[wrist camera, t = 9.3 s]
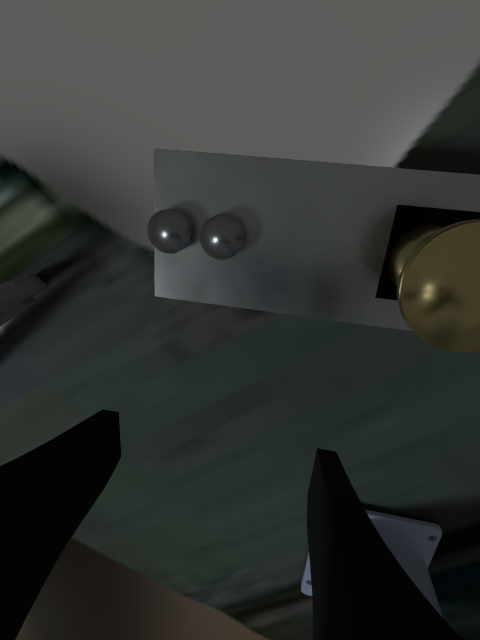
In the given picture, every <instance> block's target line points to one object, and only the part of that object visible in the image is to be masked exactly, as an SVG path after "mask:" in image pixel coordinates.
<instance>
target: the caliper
mask: <svg viewBox="0 0 480 640" xmlns="http://www.w3.org/2000/svg"><path fill="white" fill-rule="evenodd" d="M46 286H47V285H46V284H45V283H44V282H43V281H42V280H41V279H40V278H39V277H38V276H37V275H35V274H34V273H32V274H29V275H25V276H22V277H19V278H16V279H14V280H11V281H8V282H5V283H2V284H0V326H2V325H3V324H5V323H6V322H8V321H9V320H10V319H12V318H13V317H15V316H16V315H18V314H19V313H21V312H22V311H24V310H25V309H27V308H28V307H30V306H31V305H32V304H33V303H34V302H35V301H36V300H35V299H34V298H33V297H32V296H31V295H33V294H35V293H37V292H39V291H41V290H43V289H45V288H46Z"/></svg>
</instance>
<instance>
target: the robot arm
mask: <svg viewBox="0 0 480 640" xmlns="http://www.w3.org/2000/svg"><path fill="white" fill-rule="evenodd" d="M120 457H121V445H120V427H119V412H114V411H109V410H101V411H100V412H98V413H96V414H94V415H93V416H91V417H89V418H87V419H86V420H84V421H82V422H81V423H79V424H77V425H76V426H74V427H72V428H71V429H69V430H67V431H66V432H64V433H62V434H60V435H59V436H57V437H55V438H54V439H52V440H50V441H48V442H47V443H45V444H43V445H41V446H39V447H37V448H35V449H34V450H32V451H30V452H28V453H26V454H24V455H22V456H20V457H19V458H17V459H15V460H13V461H10V462H8V463H6V464H4V465H2V466H0V640H15V639H16V637H17V635H18V633H19V631H20V629H21V627H22V625H23V623H24V621H25V619H26V617H27V615H28V613H29V611H30V609H31V607H32V606H33V604H34V602H35V600H36V598H37V596H38V594H39V592H40V590H41V588H42V586H43V585H44V583H45V581H46V579H47V577H48V575H49V574H50V572H51V570H52V568H53V567H54V565H55V563H56V561H57V559H58V558H59V556H60V554H61V552H62V551H63V549H64V548H65V546H66V544H67V543H68V541H69V540H70V538H71V537H72V535H73V534H74V532H75V531H76V529H77V528H78V526H79V525H80V523H81V522H82V520H83V519H84V517H85V516H86V515H87V513H88V512H89V510H90V509H91V507H92V506H93V504H94V503H95V501H96V500H97V498H98V497H99V495H100V494H101V492H102V491H103V489H104V488H105V486H106V484H107V483H108V481H109V479H110V477H111V475H112V474H113V472H114V470H115V468H116V466H117V464H118V462H119V459H120ZM307 531H308V545H309V553H308V557H307V562H306V566H305V570H304V575H303V579H302V583H301V591H302V592H303V593H304V594H306V595H310V596H312V598H313V640H462V639H461V638H460V636H459V635H458V634H457V633H456V632H455V631H454V630H453V629H452V628H451V627H450V625H449V624H448V623H447V622H446V621H445V620H444V619H443V616H442V613H441V609H440V606H439V603H438V600H437V597H436V594H435V591H434V588H433V585H432V582H431V578H430V575H429V572H428V567H429V564H430V562H431V560H432V557H433V555H434V553H435V550H436V548H437V546H438V543H439V541H440V538H441V536H442V530H441V528H440V526H439V525H438V524H435V523H430V522H425V521H420V520H415V519H410V518H405V517H400V516H395V515H390V514H385V513H380V512H375V511H370V510H365V509H364V507H363V505H362V504H361V502H360V500H359V498H358V496H357V494H356V492H355V491H354V489H353V487H352V485H351V483H350V481H349V478H348V476H347V474H346V472H345V470H344V468H343V466H342V463H341V461H340V459H339V456H338V454H337V453H336V452H335V451H329V450H324V449H318V448H317V452H316V457H315V462H314V466H313V471H312V476H311V481H310V486H309V490H308V506H307Z"/></svg>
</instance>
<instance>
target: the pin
mask: <svg viewBox="0 0 480 640" xmlns="http://www.w3.org/2000/svg"><path fill="white" fill-rule="evenodd" d="M382 270H383V271H384V273H385V274H386V275H387V276H388V277H389V278H390V280H391V281H392V282H393V283H394V284H395V285H396V286H397V301H398V305H399V309H400V311H401V314H402V316H403V318H404V319H405V321H406V322H407V324H408V325H409V326H410V328H411V329H412V330H413V331H414V333H415V334H416V335H418V336H419V337H420V338H421V339H422V340H424V341H425V342H427V343H428V344H430V345H432V346H434V347H437V348H439V349H442V350H446V351H451V352H460V353H470V352H479V351H480V219H476V220H467V221H461V222H458V223H454V224H451V225H449V226H446V227H442V226H439V225H435V224H432V223H428V222H424V221H411V222H407V223H404V224H402V225H399V226H398V227H396V228H395V229H393V230H392V231H391V233H390V237H389V242H388V246H387V250H386V254H385V258H384V263H383V267H382Z"/></svg>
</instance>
